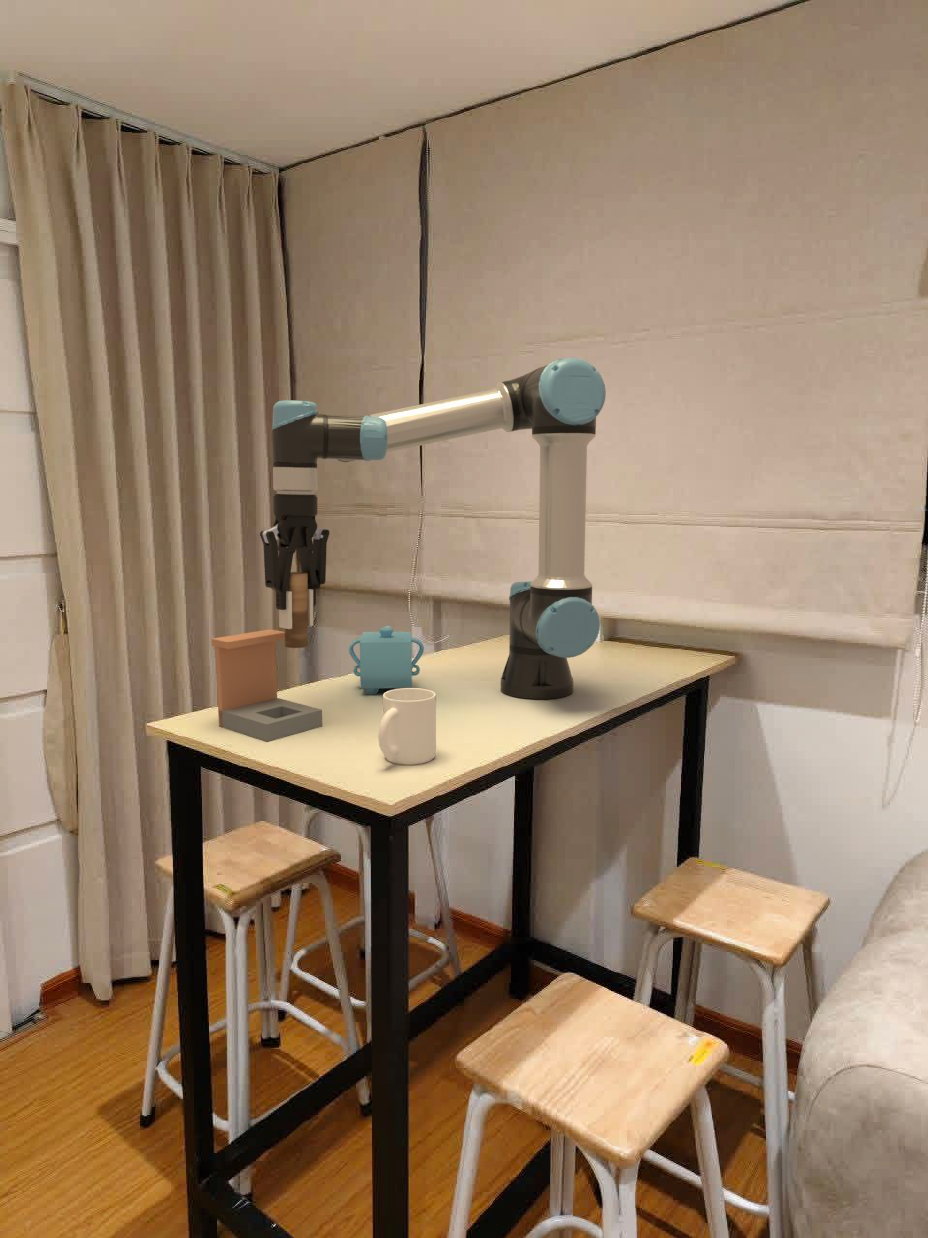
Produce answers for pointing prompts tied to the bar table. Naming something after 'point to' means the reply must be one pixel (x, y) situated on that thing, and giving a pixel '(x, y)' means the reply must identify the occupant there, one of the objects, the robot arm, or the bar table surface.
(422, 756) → the mug
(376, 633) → the teal cube teapot
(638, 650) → the bar table surface
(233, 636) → the socket stand
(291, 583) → the walnut peg
